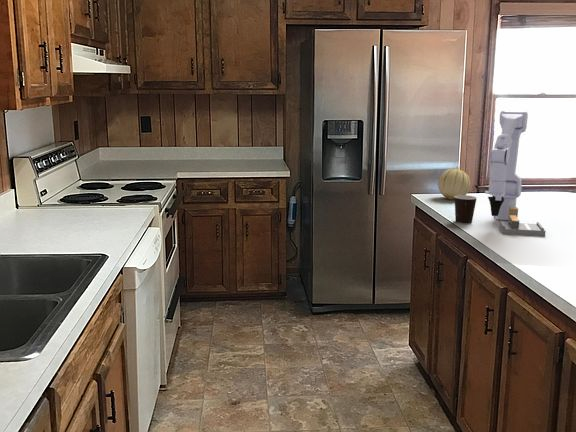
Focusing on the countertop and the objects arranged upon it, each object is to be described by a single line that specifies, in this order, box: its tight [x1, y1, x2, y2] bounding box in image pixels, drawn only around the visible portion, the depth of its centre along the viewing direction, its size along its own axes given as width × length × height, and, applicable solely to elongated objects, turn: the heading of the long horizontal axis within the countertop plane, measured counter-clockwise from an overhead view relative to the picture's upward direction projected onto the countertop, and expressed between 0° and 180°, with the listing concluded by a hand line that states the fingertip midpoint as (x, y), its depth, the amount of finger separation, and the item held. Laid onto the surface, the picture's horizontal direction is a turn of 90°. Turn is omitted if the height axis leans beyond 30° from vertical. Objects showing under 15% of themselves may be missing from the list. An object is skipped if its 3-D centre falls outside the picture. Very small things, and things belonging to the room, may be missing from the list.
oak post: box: [507, 206, 519, 223], centre depth 251 cm, size 3×3×7 cm
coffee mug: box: [453, 194, 478, 224], centre depth 255 cm, size 12×9×10 cm
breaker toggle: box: [509, 215, 520, 228], centre depth 242 cm, size 9×2×3 cm, turn 169°
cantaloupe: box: [437, 166, 471, 200], centre depth 302 cm, size 15×15×15 cm
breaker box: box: [498, 220, 547, 237], centre depth 242 cm, size 11×15×3 cm
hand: (494, 215), depth 244 cm, fingers closed
